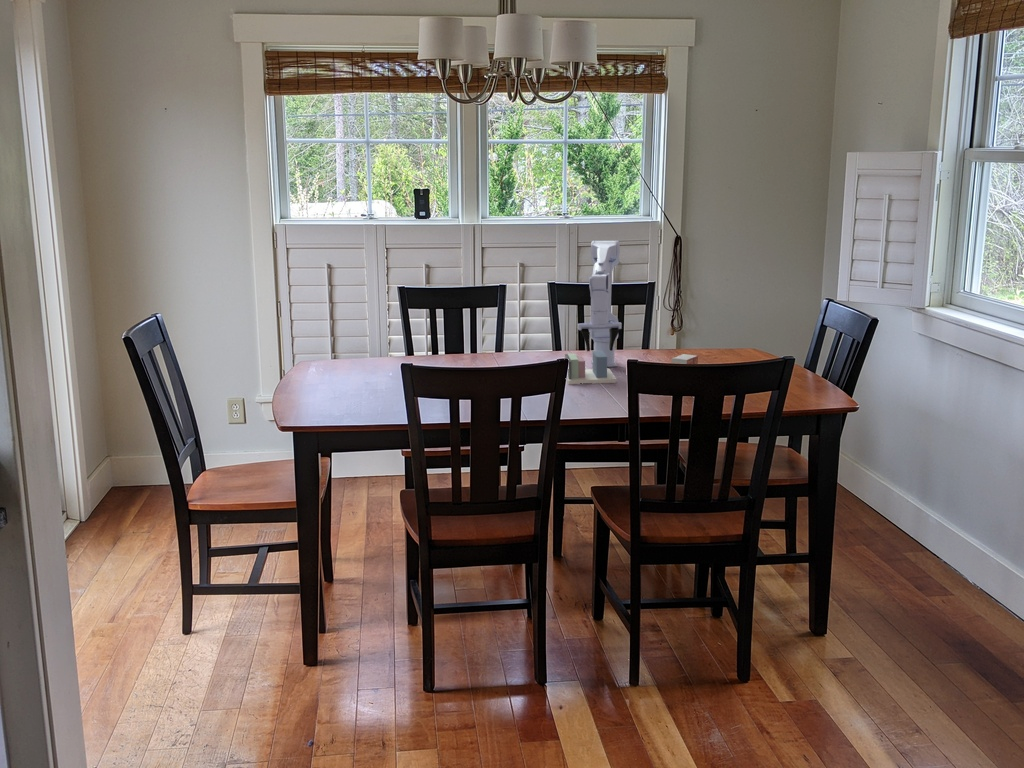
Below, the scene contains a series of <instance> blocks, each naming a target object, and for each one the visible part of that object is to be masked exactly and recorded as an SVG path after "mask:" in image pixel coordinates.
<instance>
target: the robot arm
mask: <svg viewBox="0 0 1024 768" xmlns="http://www.w3.org/2000/svg"><path fill="white" fill-rule="evenodd" d="M620 246H621V244H620V241H619V240H618V239H617V240H594V239H593V240H592V241H591V243H590V256H591V261H592V264H593V267H592V268H593V269H592V274H591V275H590V276H589V283H588V285H589V286H588V287H589V292H590V295H589V296H590V322H582V323H577V330H578V331H580V332H581V334H582V337H583V339H584V342H585V346H586V351H587V352H590V350H591V349H590V346H591V345H590V339H591V340H593V351H603V352H604V353H605V355H606V356H607V368H608V367H609V368H611V367H613V368H615V367H618V366H617V363H616V362H615V342H616V340H617V339H619V332H620V330H622V329H623V328H622V327H623V326H622V325H623V324H622V322H619V318H618V317H617V316H616V315H615V314H613V313H612V311H611V310H612V282H613V281H612V280H613V279H612V278H613V277H612V276H613V272H614V271H613V270H614V268H615V267H616V266H618V265H619V262H620V253H621V251H620V250H621V249H620V248H621V247H620ZM590 362H591V364H592V365H593V359H592V360H591V361H590Z"/></svg>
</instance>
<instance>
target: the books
mask: <svg viewBox="0 0 1024 768" xmlns="http://www.w3.org/2000/svg"><path fill="white" fill-rule="evenodd" d="M566 354H567V355H568V357H569V358H570V360H571V379H573V378H585V369H586V360H585V358H584V357H583V356H582V355H577V354H576V353H574V352H573V353H571V352H570V353H566Z"/></svg>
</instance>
